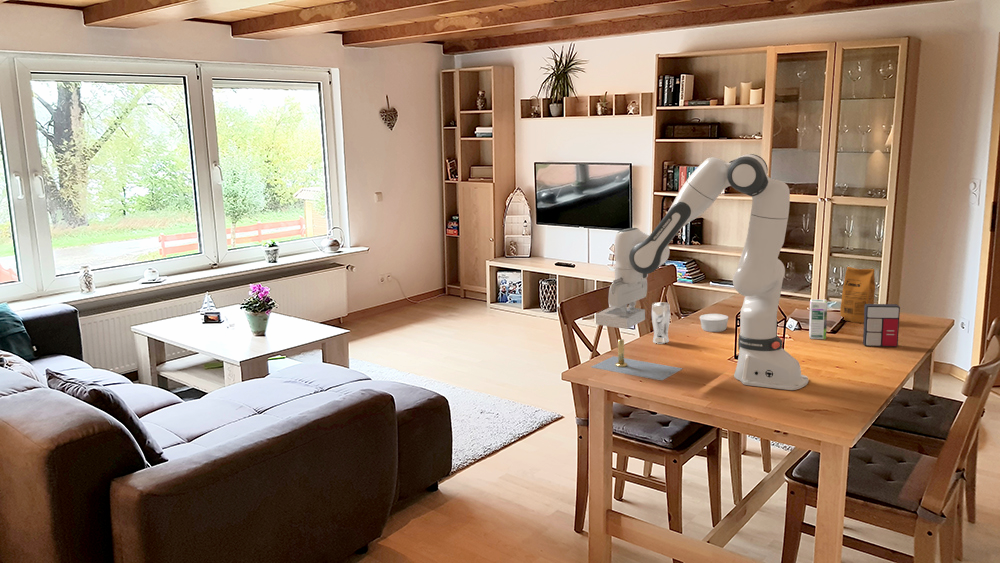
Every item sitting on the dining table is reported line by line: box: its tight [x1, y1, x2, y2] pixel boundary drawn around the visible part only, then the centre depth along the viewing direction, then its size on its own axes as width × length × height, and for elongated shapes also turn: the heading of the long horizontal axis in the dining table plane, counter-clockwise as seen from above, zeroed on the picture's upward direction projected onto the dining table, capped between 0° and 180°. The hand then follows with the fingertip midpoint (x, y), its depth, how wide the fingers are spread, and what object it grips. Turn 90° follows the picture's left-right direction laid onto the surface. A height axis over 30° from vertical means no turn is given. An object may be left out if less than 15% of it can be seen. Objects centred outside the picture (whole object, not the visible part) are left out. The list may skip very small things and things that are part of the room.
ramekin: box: [699, 313, 729, 333], centre depth 306 cm, size 11×11×5 cm
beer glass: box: [651, 301, 671, 345], centre depth 290 cm, size 7×7×15 cm
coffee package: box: [839, 266, 876, 324], centre depth 309 cm, size 10×12×22 cm
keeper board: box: [590, 355, 684, 381], centre depth 256 cm, size 27×15×2 cm, turn 50°
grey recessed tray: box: [595, 306, 646, 330], centre depth 256 cm, size 12×12×4 cm
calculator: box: [862, 303, 901, 348], centre depth 273 cm, size 11×4×15 cm, turn 76°
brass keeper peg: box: [615, 338, 627, 367], centre depth 258 cm, size 4×4×9 cm
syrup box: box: [808, 298, 828, 340], centre depth 287 cm, size 6×6×14 cm
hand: (628, 315), depth 259 cm, fingers closed on grey recessed tray, 2 cm apart
